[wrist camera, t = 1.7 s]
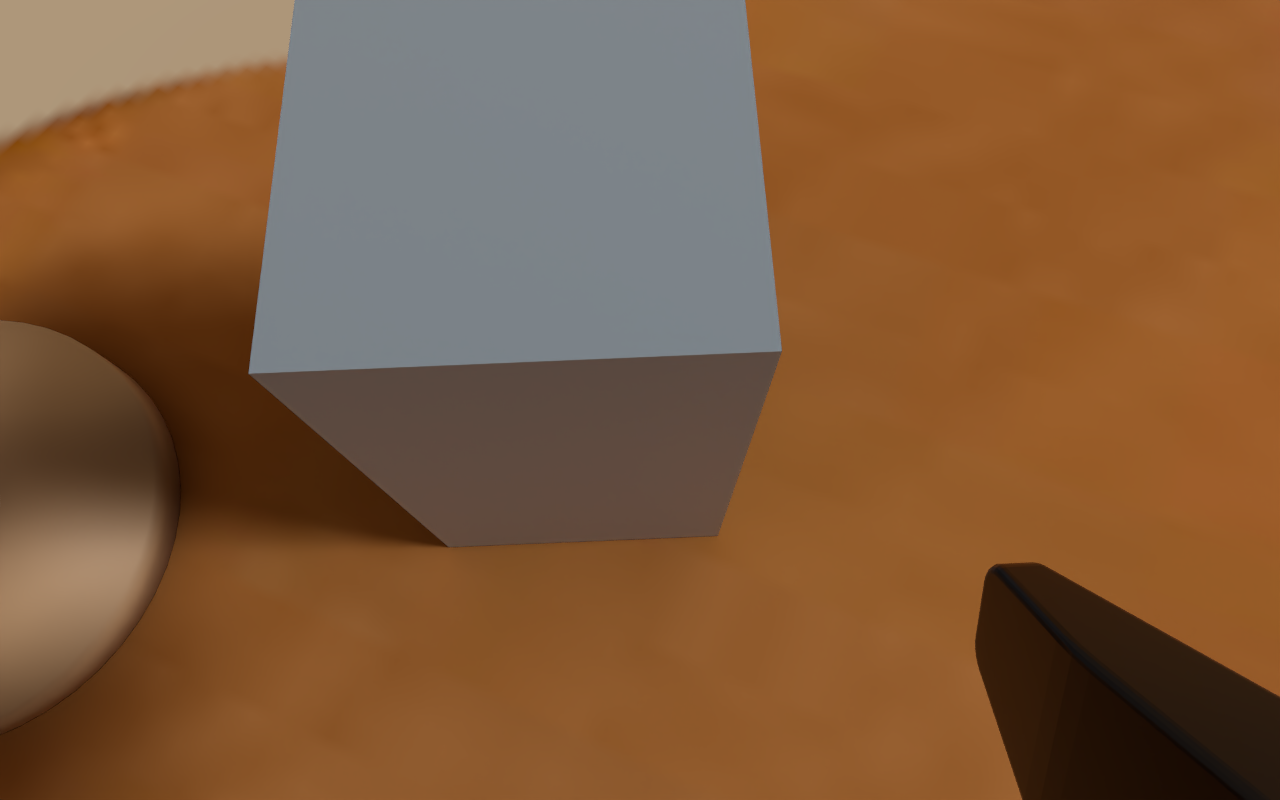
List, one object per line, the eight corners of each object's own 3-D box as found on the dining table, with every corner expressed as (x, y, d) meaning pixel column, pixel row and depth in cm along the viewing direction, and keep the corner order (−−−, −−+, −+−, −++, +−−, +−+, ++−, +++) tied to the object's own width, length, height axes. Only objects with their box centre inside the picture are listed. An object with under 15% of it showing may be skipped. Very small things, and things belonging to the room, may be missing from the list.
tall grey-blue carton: (717, 535, 21) (781, 351, 11) (448, 547, 21) (248, 374, 10) (700, 294, 23) (739, -53, 13) (457, 304, 23) (299, -35, 13)
